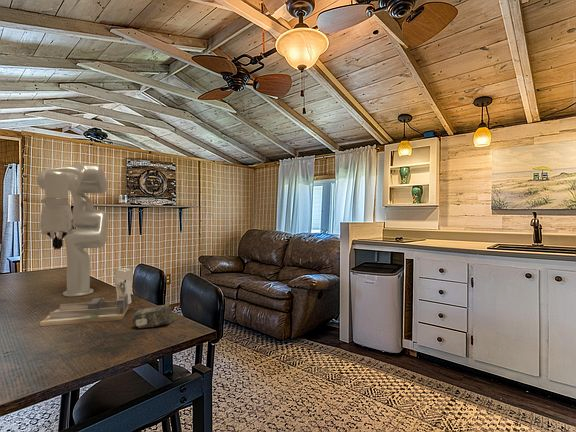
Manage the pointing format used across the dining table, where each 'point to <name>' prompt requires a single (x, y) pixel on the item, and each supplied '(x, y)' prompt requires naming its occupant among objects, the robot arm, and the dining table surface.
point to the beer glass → (124, 282)
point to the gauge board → (87, 313)
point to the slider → (96, 303)
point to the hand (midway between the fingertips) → (57, 248)
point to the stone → (153, 316)
